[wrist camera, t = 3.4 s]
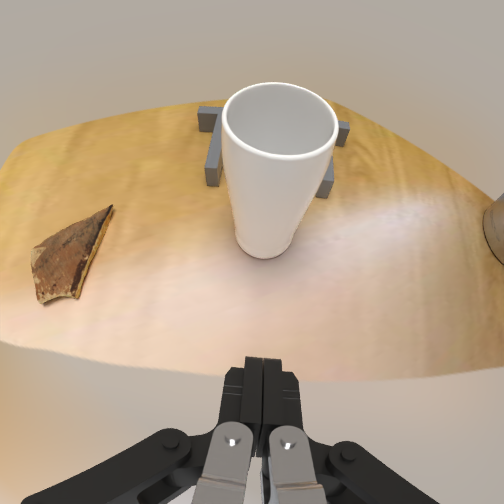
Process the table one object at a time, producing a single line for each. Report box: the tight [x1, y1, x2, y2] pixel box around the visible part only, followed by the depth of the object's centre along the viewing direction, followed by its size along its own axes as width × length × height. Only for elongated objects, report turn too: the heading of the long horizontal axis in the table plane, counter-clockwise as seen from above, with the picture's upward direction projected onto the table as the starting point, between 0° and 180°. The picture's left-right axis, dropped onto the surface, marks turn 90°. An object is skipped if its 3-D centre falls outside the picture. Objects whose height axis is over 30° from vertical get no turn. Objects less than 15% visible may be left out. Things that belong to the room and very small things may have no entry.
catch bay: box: [197, 106, 350, 198], centre depth 33 cm, size 17×9×3 cm, turn 84°
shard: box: [31, 205, 113, 304], centre depth 28 cm, size 11×8×2 cm
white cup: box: [221, 82, 339, 259], centre depth 23 cm, size 7×7×15 cm
